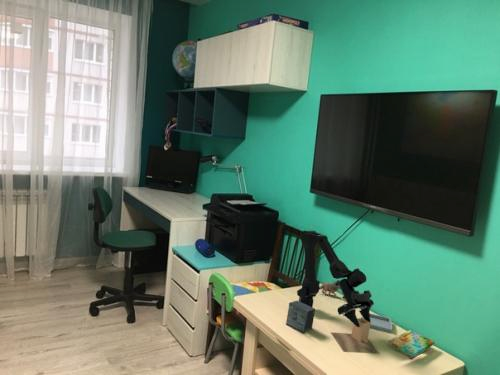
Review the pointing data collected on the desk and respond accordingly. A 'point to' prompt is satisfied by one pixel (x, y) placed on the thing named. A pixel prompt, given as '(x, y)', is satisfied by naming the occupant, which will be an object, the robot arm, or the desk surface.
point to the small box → (300, 316)
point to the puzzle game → (410, 344)
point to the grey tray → (380, 323)
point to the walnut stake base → (353, 344)
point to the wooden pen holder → (361, 330)
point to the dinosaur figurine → (329, 288)
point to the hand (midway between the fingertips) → (364, 325)
